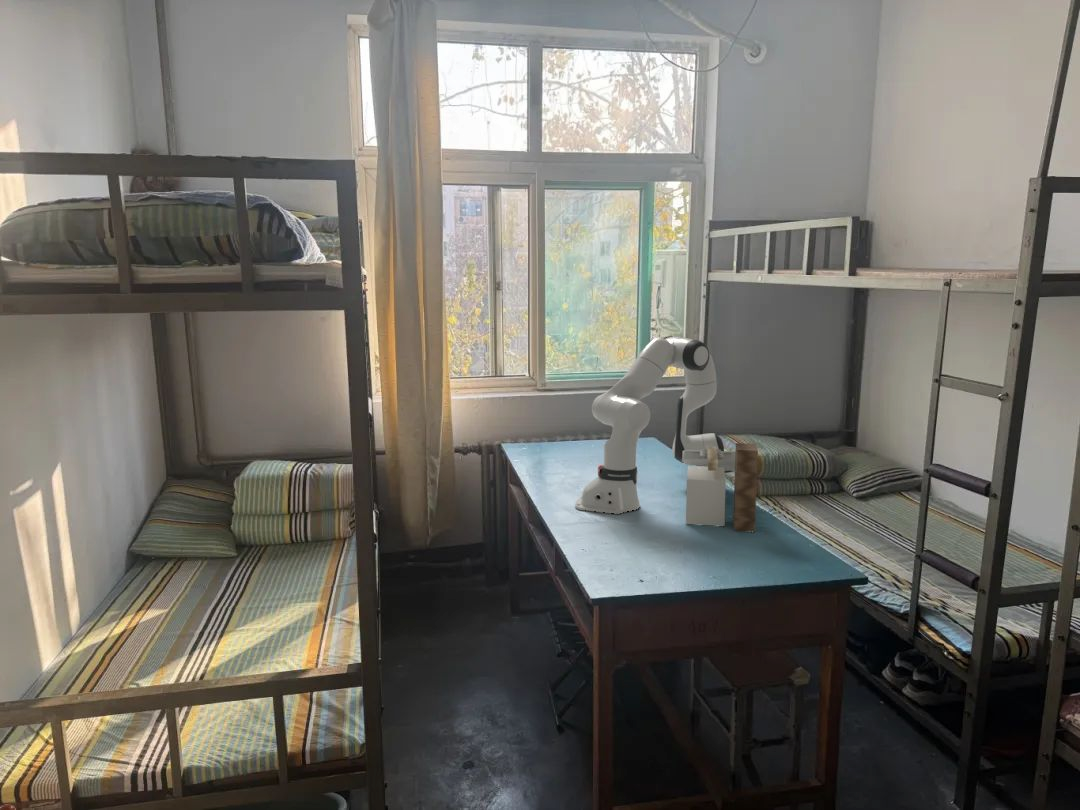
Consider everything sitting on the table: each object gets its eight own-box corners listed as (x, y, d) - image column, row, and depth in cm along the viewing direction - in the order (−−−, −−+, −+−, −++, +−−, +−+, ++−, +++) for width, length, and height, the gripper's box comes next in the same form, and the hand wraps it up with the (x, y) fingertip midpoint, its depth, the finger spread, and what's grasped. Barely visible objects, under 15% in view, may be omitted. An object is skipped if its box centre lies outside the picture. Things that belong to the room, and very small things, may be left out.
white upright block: (685, 524, 234) (686, 479, 231) (686, 508, 251) (687, 465, 249) (724, 526, 231) (725, 481, 229) (722, 510, 249) (723, 467, 246)
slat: (708, 470, 232) (708, 462, 231) (707, 453, 255) (707, 446, 254) (717, 470, 231) (718, 463, 231) (716, 453, 254) (716, 446, 254)
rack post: (734, 531, 227) (737, 449, 223) (733, 521, 236) (735, 443, 232) (754, 532, 226) (757, 450, 221) (752, 522, 235) (755, 443, 231)
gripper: (681, 453, 266) (681, 441, 254) (739, 455, 262) (742, 443, 249) (681, 470, 264) (681, 459, 252) (739, 472, 260) (742, 461, 247)
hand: (712, 451), depth 251 cm, fingers closed on slat, 3 cm apart
